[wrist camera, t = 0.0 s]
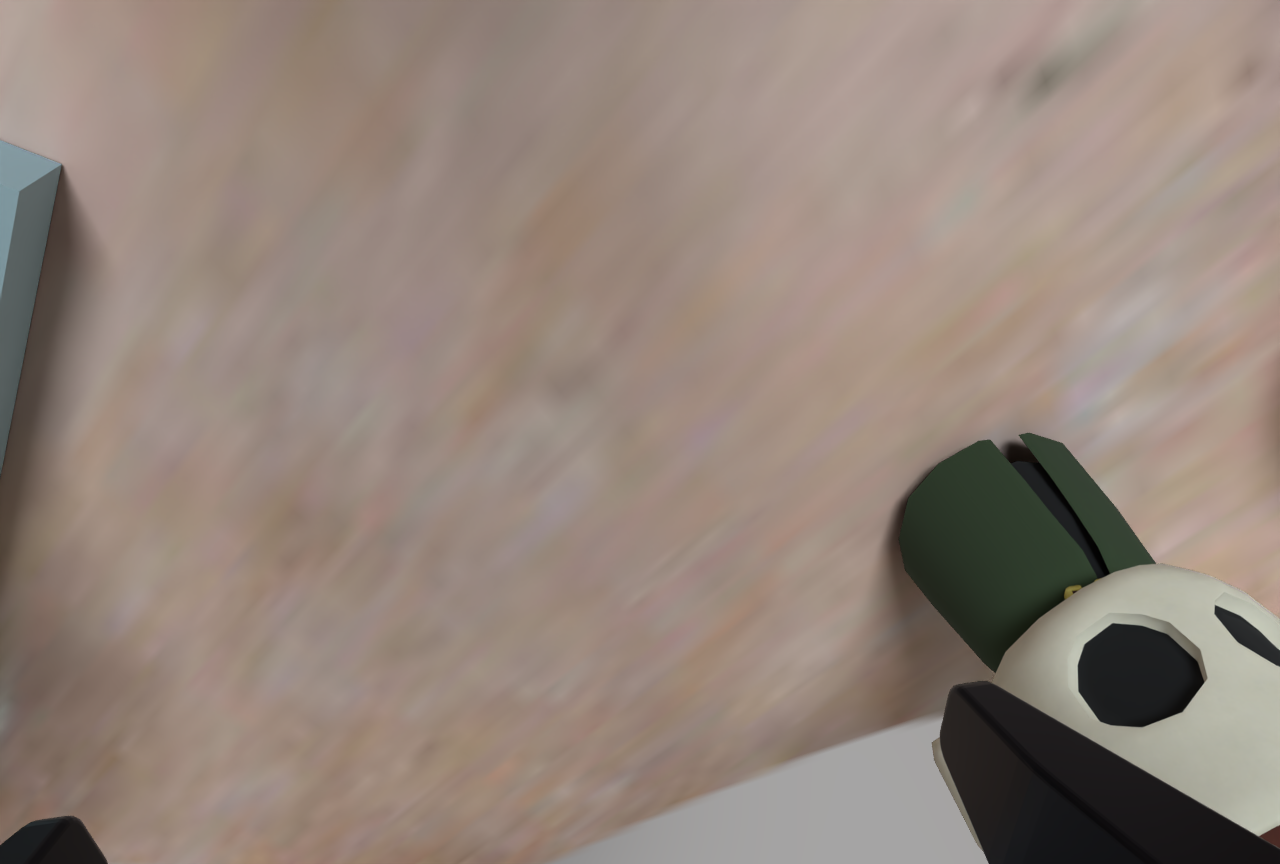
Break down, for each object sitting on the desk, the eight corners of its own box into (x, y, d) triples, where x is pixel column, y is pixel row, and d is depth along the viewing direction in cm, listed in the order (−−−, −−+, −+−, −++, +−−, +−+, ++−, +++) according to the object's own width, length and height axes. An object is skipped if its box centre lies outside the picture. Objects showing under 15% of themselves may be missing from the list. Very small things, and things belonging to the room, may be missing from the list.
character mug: (1165, 385, 26) (1640, 732, 15) (1117, 560, 30) (1470, 937, 19) (821, 440, 26) (1065, 848, 15) (816, 613, 29) (1007, 1037, 19)
